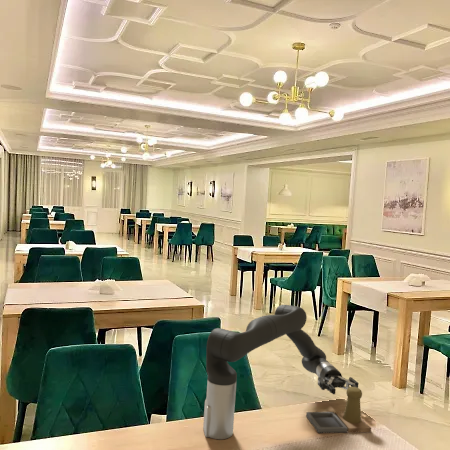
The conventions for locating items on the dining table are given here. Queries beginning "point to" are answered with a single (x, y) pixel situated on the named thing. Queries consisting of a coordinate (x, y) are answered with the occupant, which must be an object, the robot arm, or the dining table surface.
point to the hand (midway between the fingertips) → (345, 391)
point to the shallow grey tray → (326, 422)
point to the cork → (353, 405)
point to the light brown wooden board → (354, 424)
